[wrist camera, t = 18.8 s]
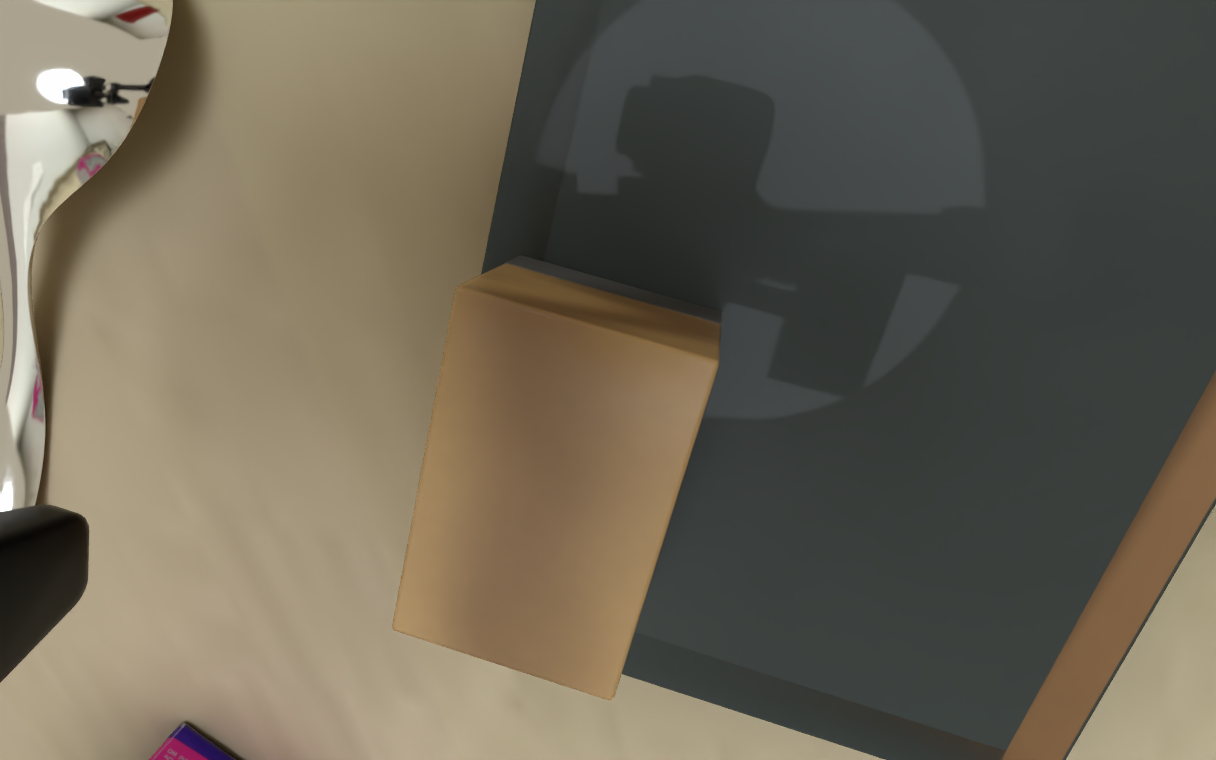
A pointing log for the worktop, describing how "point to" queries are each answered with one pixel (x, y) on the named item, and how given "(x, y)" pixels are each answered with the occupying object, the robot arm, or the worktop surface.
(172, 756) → the supplement box
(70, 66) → the metal serving spoon
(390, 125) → the worktop surface
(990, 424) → the chalkboard
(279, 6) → the worktop surface
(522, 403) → the wooden block
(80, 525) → the robot arm
